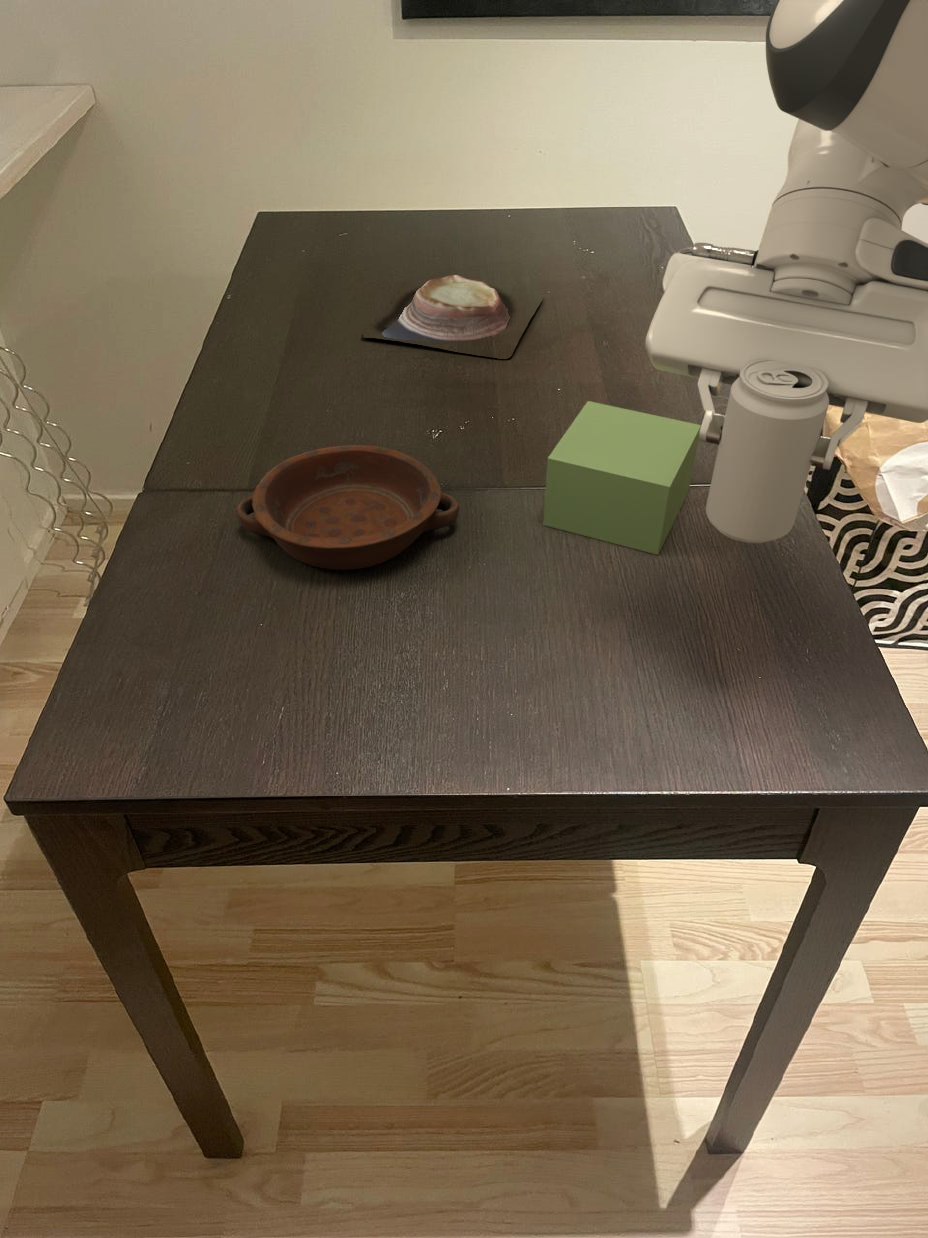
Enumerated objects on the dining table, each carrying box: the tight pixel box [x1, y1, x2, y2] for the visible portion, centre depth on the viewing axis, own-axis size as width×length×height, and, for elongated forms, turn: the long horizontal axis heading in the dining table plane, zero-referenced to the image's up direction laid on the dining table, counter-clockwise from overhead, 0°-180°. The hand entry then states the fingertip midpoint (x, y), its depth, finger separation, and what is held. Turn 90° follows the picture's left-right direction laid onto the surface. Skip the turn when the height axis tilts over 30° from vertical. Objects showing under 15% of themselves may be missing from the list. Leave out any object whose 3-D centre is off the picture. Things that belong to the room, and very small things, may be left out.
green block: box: [542, 400, 702, 556], centre depth 96 cm, size 12×12×8 cm
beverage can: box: [705, 358, 830, 544], centre depth 67 cm, size 6×6×12 cm
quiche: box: [382, 274, 510, 342], centre depth 131 cm, size 21×20×4 cm
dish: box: [236, 444, 460, 571], centre depth 94 cm, size 18×22×5 cm
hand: (763, 453), depth 66 cm, fingers closed on beverage can, 6 cm apart
